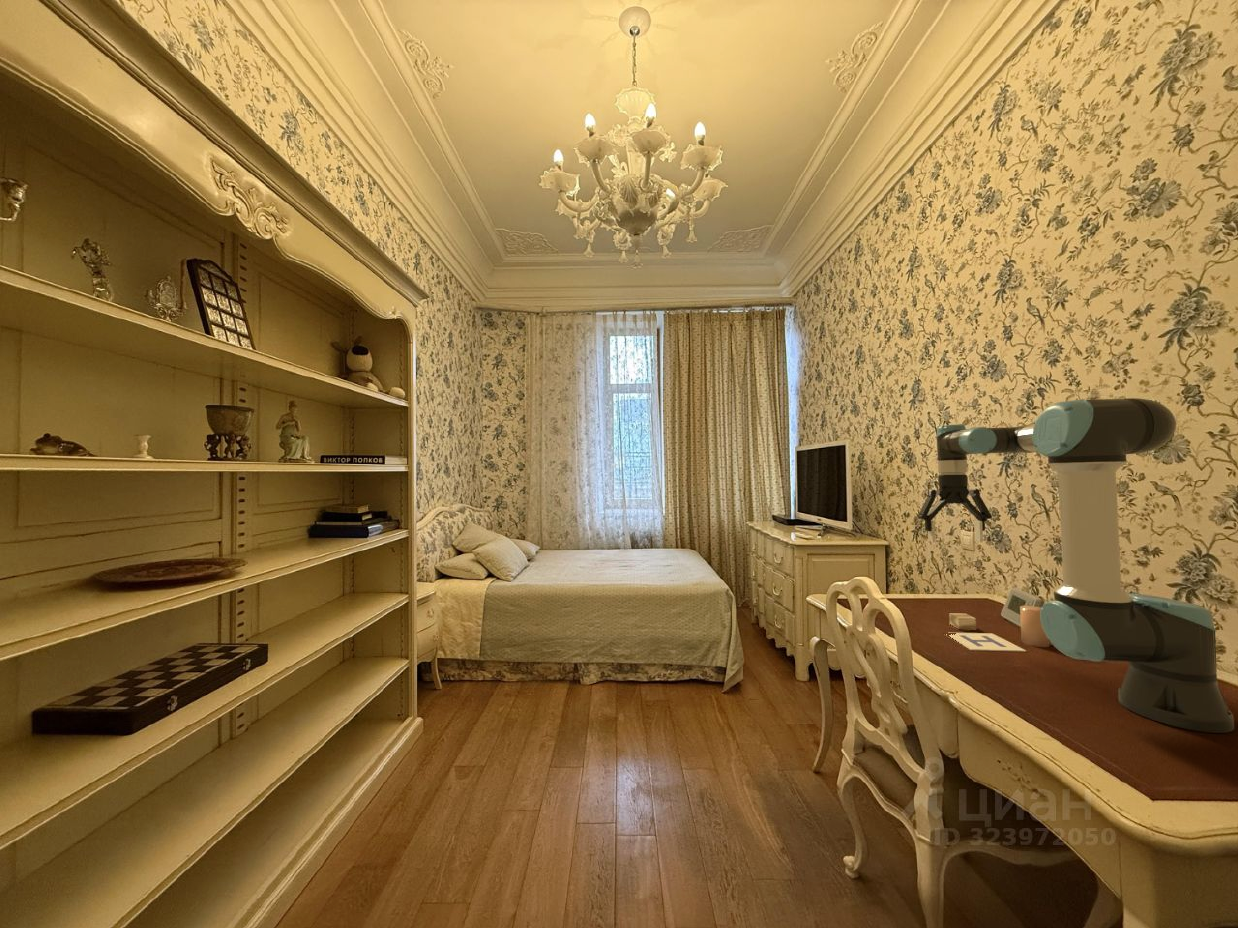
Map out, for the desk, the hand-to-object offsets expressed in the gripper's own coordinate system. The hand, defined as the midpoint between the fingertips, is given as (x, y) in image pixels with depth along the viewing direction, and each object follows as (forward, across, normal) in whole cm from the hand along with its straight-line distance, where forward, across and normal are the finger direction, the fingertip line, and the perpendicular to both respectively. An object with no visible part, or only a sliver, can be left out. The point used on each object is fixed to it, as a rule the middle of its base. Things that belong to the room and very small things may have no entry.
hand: (955, 541), depth 146 cm
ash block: (+28, -3, -4) cm, 29 cm away
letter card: (+28, -1, +9) cm, 30 cm away
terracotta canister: (+28, -15, +9) cm, 33 cm away
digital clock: (+28, -23, -8) cm, 37 cm away
